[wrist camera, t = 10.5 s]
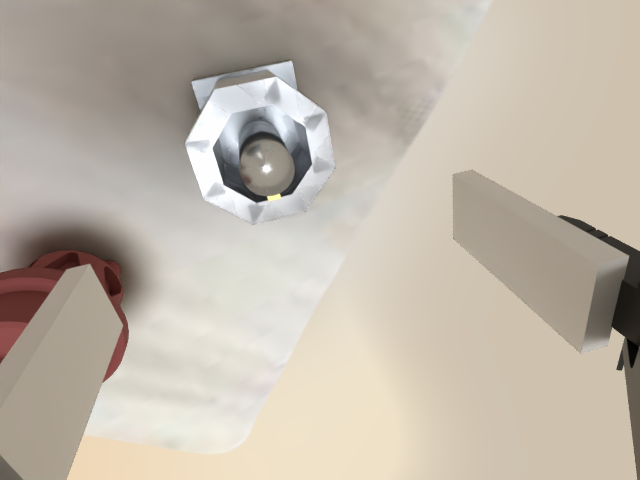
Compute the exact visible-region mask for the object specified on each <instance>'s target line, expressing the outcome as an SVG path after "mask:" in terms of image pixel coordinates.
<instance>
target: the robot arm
mask: <svg viewBox="0 0 640 480" xmlns="http://www.w3.org/2000/svg"><path fill="white" fill-rule="evenodd" d="M453 239H454V240H455V241H456V242H458V243H459V244H460V245H461V246H462V247H463V248H464V249H465V250H466V251H468V252H469V253H470V254H471V255H472V256H473V257H474V258H475V259H476V260H478V261H479V262H480V263H481V264H482V265H483V266H484V267H485V268H486V269H487V270H489V271H490V272H491V273H492V274H493V275H494V276H495V277H496V278H497V279H499V280H500V281H501V282H502V283H503V284H504V285H505V286H506V287H508V288H509V289H510V290H511V291H512V292H513V293H514V294H515V295H516V296H517V297H518V298H520V299H521V300H522V301H523V302H524V303H525V304H526V305H527V306H528V307H529V308H531V309H532V310H533V311H534V312H535V313H536V314H537V315H538V316H540V317H541V318H542V319H543V320H544V321H545V322H546V323H547V324H548V325H549V326H551V327H552V328H553V329H554V330H555V331H556V332H557V333H558V334H559V335H560V336H562V337H563V338H564V339H565V340H566V341H567V342H568V343H569V344H570V345H572V346H573V347H574V348H575V349H576V350H577V351H578V352H579V353H581V354H582V353H586V352H589V351H592V350H595V349H599V348H602V347H605V346H608V342H609V338H610V333H611V330H612V327H613V328H614V329H615V330H617V331H618V332H619V333H620V334H622V335H623V336H625V339H624V343H623V347H622V350H621V354H620V358H619V362H618V366H617V370H622V369H623V365H624V367H625V377H626V385H627V394H628V402H629V411H630V420H631V427H632V436H633V445H634V454H635V463H636V471H637V480H640V251H638V250H636V249H634V248H632V247H630V246H629V245H627V244H625V243H622V242H621V241H619V240H617V239H615V238H613V237H611V236H610V237H608V235H607V234H606V233H604V232H602V231H600V230H596V229H595V228H594V227H592V226H590V225H588V224H586V223H585V222H583V221H581V220H577V219H574V218H570V217H566V216H562V215H561V216H555V215H554V214H552V213H550V212H548V211H546V210H544V209H543V208H541V207H539V206H537V205H535V204H534V203H532V202H530V201H528V200H526V199H525V198H523V197H521V196H519V195H517V194H515V193H514V192H512V191H510V190H508V189H506V188H505V187H503V186H501V185H499V184H497V183H495V182H494V181H492V180H490V179H488V178H486V177H484V176H483V175H481V174H479V173H477V172H475V171H474V170H468V171H464V172H460V173H456V174H453ZM122 328H123V324H122V322H121V320H120V318H119V317H118V315H117V313H116V311H115V309H114V307H113V305H112V304H111V302H110V300H109V298H108V296H107V294H106V293H105V291H104V289H103V287H102V285H101V283H100V282H99V280H98V278H97V276H96V274H95V272H94V270H93V269H92V267H91V265H90V264H86V265H82V266H78V267H74V268H70V269H66V271H65V272H64V274H63V275H62V277H61V278H60V279H59V281H58V282H57V284H56V285H55V287H54V288H53V289H52V291H51V292H50V294H49V295H48V297H47V298H46V299H45V301H44V302H43V304H42V305H41V307H40V308H39V309H38V311H37V312H36V314H35V315H34V317H33V318H32V319H31V321H30V322H29V324H28V325H27V327H26V328H25V329H24V331H23V332H22V334H21V335H20V337H19V338H18V339H17V341H16V342H15V344H14V345H13V346H12V348H11V349H10V351H9V352H8V354H7V355H6V356H5V358H4V359H3V361H2V362H1V364H0V480H67V477H68V474H69V471H70V469H71V466H72V463H73V460H74V458H75V455H76V452H77V449H78V447H79V444H80V442H81V439H82V436H83V433H84V431H85V428H86V425H87V423H88V420H89V417H90V414H91V412H92V409H93V406H94V404H95V401H96V398H97V395H98V393H99V390H100V387H101V385H102V382H103V379H104V376H105V374H106V371H107V368H108V366H109V363H110V360H111V357H112V355H113V352H114V349H115V347H116V344H117V341H118V338H119V336H120V333H121V330H122Z"/></svg>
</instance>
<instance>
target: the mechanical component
mask: <svg viewBox="0 0 640 480" xmlns="http://www.w3.org/2000/svg"><path fill="white" fill-rule="evenodd" d="M86 264H90V265H91V267H92V269H93V270H94V272H95V274H96V276H97V278H98V280H99V282H100V283H101V285H102V287H103V289H104V291H105V293H106V294H107V296H108V298H109V300H110V302H111V304H112V305H113V307H114V309H115V311H116V313H117V315H118V317H119V318H120V320H121V322H122V324H123V328H122V330H121V333H120V336H119V338H118V341H117V344H116V347H115V349H114V352H113V355H112V357H111V360H110V363H109V366H108V368H107V371H106V374H105V376H104V379H103V382H104V381H106V380H107V379H108V378H109V377H110V376H111V375H112V374H113V373H114V372H115V371H116V369H117V368H118V366H119V365H120V363H121V361H122V358H123V355H124V352H125V350H126V347H127V343H128V336H129V330H128V323H127V320H126V317H125V315H124V313H123V311H122V309H121V307H120V303H121V301H122V296H123V287H122V283H121V280H120V278H119V276H120V273H121V267H120V265H119V264H118V263H116V262H114V261H110V260H109V261H103V260H101V259H100V258H98V257H95V256H93V255H91V254H88V253H85V252H80V251H72V250H63V251H55V252H51V253H48V254H45V255H43V256H41V257H39V258H38V259H37V260H35V261H34V262H33V263H32V264H31V265H30V266H29V267H28V268H21V269H14V270H9V271H6V272H2V273H0V364H1V362H2V361H3V359H4V358H5V356H6V355H7V354H8V352H9V351H10V349H11V348H12V346H13V345H14V344H15V342H16V341H17V339H18V338H19V337H20V335H21V334H22V332H23V331H24V329H25V328H26V327H27V325H28V324H29V322H30V321H31V319H32V318H33V317H34V315H35V314H36V312H37V311H38V309H39V308H40V307H41V305H42V304H43V302H44V301H45V299H46V298H47V297H48V295H49V294H50V292H51V291H52V289H53V288H54V287H55V285H56V284H57V282H58V281H59V279H60V278H61V277H62V275H63V274H64V272H65V271H66V269H70V268H74V267H78V266H82V265H86ZM103 382H102V383H103Z"/></svg>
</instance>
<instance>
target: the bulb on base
mask: <svg viewBox="0 0 640 480" xmlns="http://www.w3.org/2000/svg"><path fill="white" fill-rule="evenodd" d="M267 69H268V70H269V71H271V72H272V73H274V74H275V75H276V76H278V77H279V78H281V79H282V80H283V81H285V82H286V83H288V84H289V85H290V86H292V87H293V88H295V89H296V90H297V91H298V89H297V84H296V79H295V73H294V68H293V63H292V61H291V60H286V61H282V62H277V63H272V64H267V65H262V66H257V67H252V68H248V69H243V70H238V71H233V72H228V73H223V74H218V75H214V76H209V77H204V78H199V79H194V80H192V81H191V83H192V86H193V90H194V93H195V96H196V99H197V103H198V106H199V109H200V111H201V109H202V107H203V105H204V104H205V102H206V100H207V98H208V96H209V95H210V93H211V91H212V89H213V87H214V85H215V84H216V82H217V80H219V79H224V78H229V77H233V76H238V75H243V74H248V73H252V72H257V71H262V70H267ZM218 138H219V141H220V144H221V148H222V151H223V154H224V158H225V159H226V160H228V161H229V162H231V163H233V164H235V165H236V166H238V167H240V175H241V178H242V181H243V183H244V184H245V186H246V187H247V188H248V189H249V190H250V191H252V192H253V193H255V194H258V195H261V196H267V197H268V201H273V200H277V199H281V196H280V193H281V192H283V191H284V190H286V189H287V188H288V187H289V185H290V184H291V182H292V180H293V178H294V173H295V166H294V162H293V159H292V157H291V155H290V154H291V152H292V151H293V149H294V148H295V146H296V145H297V143H298V139H297V134H296V129H295V124H294V120H293V118H291V117H290V116H288V115H287V114H285V113H284V112H282V111H281V110H279V109H278V108H276V107H275V106H273V105H268V106H264V107H259V108H254V109H250V110H245V111H241V112H236V113H232V114H231V116H230V118H229V119H228V121H227V123H226V125H225V126H224V128H223V130H222V132H221V133H220V135H219V137H218Z"/></svg>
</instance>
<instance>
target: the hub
mask: <svg viewBox="0 0 640 480" xmlns="http://www.w3.org/2000/svg"><path fill="white" fill-rule="evenodd" d="M268 105H273V106H275V107H276V108H278V109H279V110H281V111H282V112H284V113H285V114H287V115H288V116H290V117H291V118H293V120H294V124H295V129H296V134H297V139H298V143H297V145H296V146H295V148H294V149H293V151H292V152H291V154H290V155H291V157H292V159H293V162H294V166H295V173H294V178H293V180H292V182H291V184H290V185H289V187H288V188H287V189H286V190H284V191H283V192H281V193H280V196H281V199H277V200H273V201H268V197H267V196H261V195H258V194H255V193H253V192H252V191H250V190H249V189H248V188H247V187H246V186H245V184H244V183H243V181H242V178H241V175H240V167H238V166H236V165H235V164H233V163H231V162H229V161H228V160H226V159H225V158H224V154H223V151H222V148H221V144H220V141H219V138H218V137H219V135H220V133H221V132H222V130H223V128H224V126H225V125H226V123H227V121H228V119H229V118H230V116H231V114H232V113H236V112H241V111H245V110H250V109H254V108H259V107H264V106H268ZM185 146H186V149H187V152H188V155H189V158H190V160H191V163H192V166H193V169H194V172H195V175H196V178H197V181H198V184H199V187H200V190H201V193H202V195H203V198H204V200H206V201H208V202H210V203H212V204H214V205H216V206H218V207H220V208H222V209H224V210H226V211H228V212H230V213H231V214H233V215H235V216H237V217H239V218H241V219H243V220H245V221H247V222H249V223H251V224H253V225H254V224H258V223H263V222H267V221H271V220H275V219H279V218H283V217H287V216H291V215H295V214H299V213H303V212H306V210H307V209H308V207H309V206H310V204H311V203H312V201H313V200H314V198H315V197H316V196H317V194H318V193H319V191H320V190H321V188H322V187H323V185H324V184H325V182H326V181H327V180H328V178H329V177H330V175H331V174H332V172H333V171H334V169H335V162H334V156H333V150H332V143H331V137H330V131H329V125H328V119H327V113H326V111H325V110H323V109H322V108H321V107H319V106H318V105H317V104H315V103H314V102H313V101H312V100H310V99H309V98H307V97H306V96H305V95H303V94H302V93H300V92H299V91H297V90H296V89H295V88H293V87H292V86H290V85H289V84H288V83H286V82H285V81H283V80H282V79H281V78H279V77H278V76H276V75H275V74H274V73H272V72H271V71H269V70H268V69H267V70H262V71H257V72H252V73H248V74H243V75H238V76H233V77H229V78H224V79H219V80H217V82H216V84H215V85H214V87H213V89H212V91H211V93H210V95H209V96H208V98H207V100H206V102H205V104H204V105H203V107H202V109H201V111H200V113H199V115H198V116H197V118H196V120H195V122H194V124H193V126H192V128H191V130H190V132H189V135H188V137H187V139H186V142H185Z"/></svg>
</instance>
